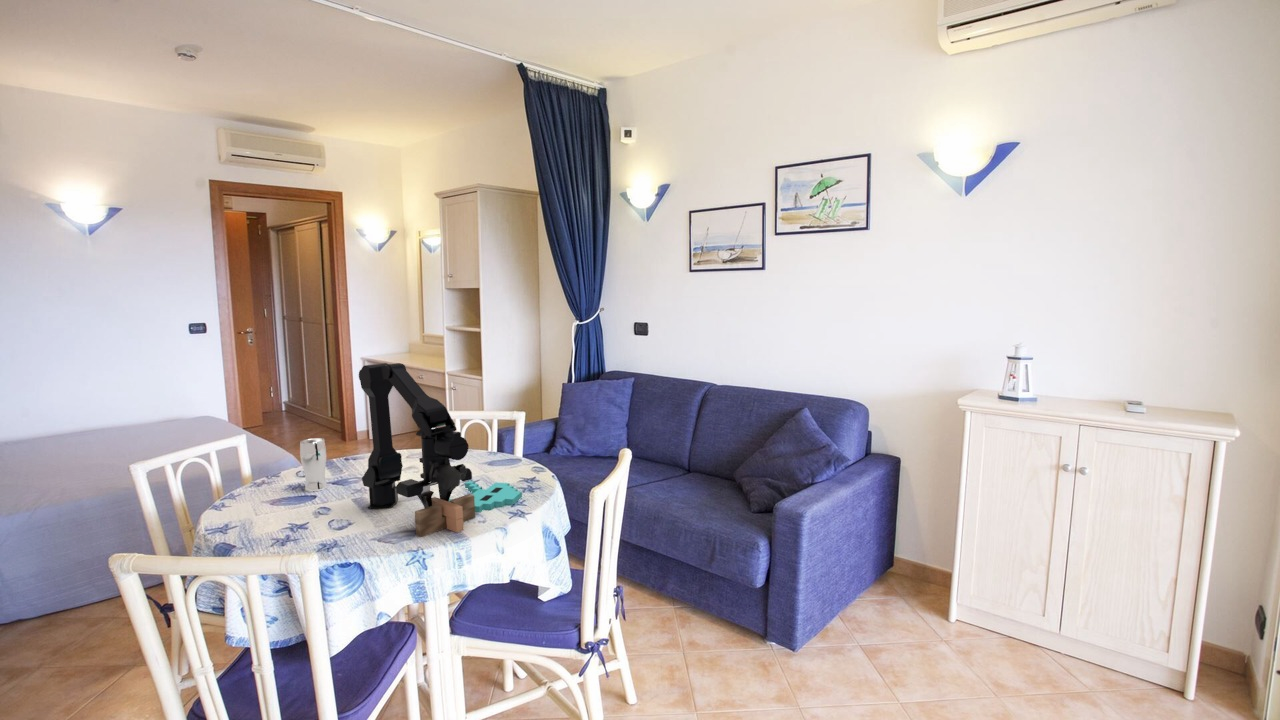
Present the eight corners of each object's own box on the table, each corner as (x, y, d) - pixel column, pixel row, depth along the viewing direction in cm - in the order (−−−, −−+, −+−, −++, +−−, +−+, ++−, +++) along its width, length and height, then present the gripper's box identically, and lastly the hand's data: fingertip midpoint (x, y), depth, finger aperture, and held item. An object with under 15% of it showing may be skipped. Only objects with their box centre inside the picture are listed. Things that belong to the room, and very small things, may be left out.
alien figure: (434, 511, 171) (503, 515, 167) (434, 503, 170) (502, 507, 166) (468, 488, 190) (530, 491, 186) (468, 481, 190) (530, 484, 186)
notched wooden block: (420, 537, 152) (419, 513, 151) (416, 535, 153) (414, 511, 153) (475, 517, 164) (474, 495, 164) (470, 515, 166) (469, 493, 165)
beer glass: (297, 491, 188) (293, 442, 186) (314, 484, 195) (311, 437, 193) (317, 493, 186) (313, 443, 185) (334, 485, 193) (330, 438, 191)
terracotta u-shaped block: (463, 530, 156) (462, 506, 155) (456, 532, 154) (455, 508, 154) (436, 519, 163) (434, 496, 163) (429, 521, 162) (427, 498, 161)
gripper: (418, 468, 147) (422, 532, 149) (483, 451, 161) (486, 509, 163) (393, 460, 154) (397, 521, 156) (458, 444, 168) (460, 500, 170)
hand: (437, 513), depth 161 cm, fingers open, 4 cm apart
